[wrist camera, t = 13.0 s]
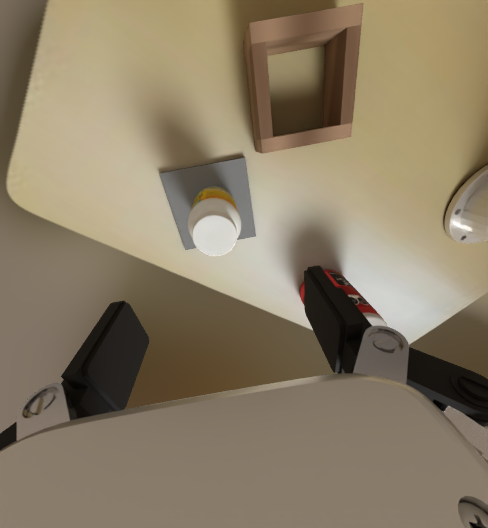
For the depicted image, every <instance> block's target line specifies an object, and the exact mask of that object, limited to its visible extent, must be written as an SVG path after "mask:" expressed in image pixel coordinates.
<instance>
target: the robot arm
mask: <svg viewBox="0 0 488 528" xmlns="http://www.w3.org/2000/svg"><path fill="white" fill-rule="evenodd" d="M445 230H446V233H447V234H448V236H449V237H450V238H452V239H453V240H455V241H458V242H460V243H465V244H472V243H477V242H481V241H484V240H485V241H488V165H486V166H485V167H483V168H482V169H480V170H479V171H477V172H476V173H475V174H474V175H473V176H471V177H470V178H469V179H468V180H467V181H466V182H465V183H464V184H463V185H462V187H461V188H460V189H459V190H458V192H457V193H456V194H455V196H454V197H453V199H452V201H451V203H450V204H449V207H448V209H447V212H446V216H445ZM304 293H305V313H306V316H307V318H308V320H309V322H310V324H311V326H312V328H313V331H314V332H315V335H316V337H317V339H318V341H319V343H320V345H321V347H322V350H323V352H324V354H325V356H326V358H327V360H328V362H329V364H330V366H331V369H332V370H333V372H337V373H338V374H333V375H322V376H316V377H309V378H303V379H296V380H290V381H284V382H278V383H272V384H266V385H260V386H255V387H249V388H243V389H237V390H232V391H226V392H220V393H214V394H208V395H204V396H197V397H192V398H186V399H181V400H175V401H169V402H164V403H158V404H153V405H147V406H142V407H137V408H131V409H125V410H124V408H125V407H126V405H127V402H128V400H129V397H130V394H131V391H132V388H133V386H134V383H135V380H136V377H137V374H138V372H139V369H140V366H141V363H142V361H143V358H144V355H145V352H146V349H147V347H148V344H149V337H148V335H147V333H146V332H145V330H144V328H143V327H142V325H141V323H140V321H139V320H138V318H137V316H136V315H135V313H134V311H133V309H132V308H131V306H130V305H129V304H128V303H126V302H125V301H119V302H113V303H111V304H110V305H109V307H108V308H107V309H106V311H105V313H104V314H103V315H102V317H101V318H100V320H99V322H98V323H97V324H96V326H95V327H94V329H93V330H92V331H91V333H90V335H89V336H88V338H87V339H86V340H85V342H84V343H83V345H82V346H81V348H80V349H79V351H78V352H77V354H76V355H75V357H74V358H73V360H72V361H71V362H70V364H69V365H68V367H67V368H66V370H65V372H64V373H63V374H62V376H61V377H62V378H63V379H64V380H63V382H62V383H61V384H60V383H52V384H49V385H46V386H44V387H42V388H41V389H39V390H38V391H36V392H35V393H34V394H32V395H31V396H30V397H29V398H28V399H27V400H26V401H25V403H24V404H23V405H22V406H21V408H20V410H19V412H18V414H17V422H15V423H14V424H13V425H11V426H10V427H9V428H7V429H6V430H5V431H3V432H2V433H1V434H0V528H488V464H487V463H486V461H485V460H484V459H483V458H482V456H483V457H484V458H486V459H487V460H488V379H486V378H485V377H483V376H481V375H479V374H477V373H475V372H473V371H470V370H467V369H465V368H462V367H460V366H457V365H454V364H452V363H449V362H447V361H444V360H441V359H439V358H436V357H434V356H431V355H428V354H425V353H423V352H420V351H418V350H415V349H413V348H410V347H409V344H408V342H407V340H406V338H405V337H404V336H403V335H402V334H401V333H399V332H398V331H396V330H394V329H392V328H389V327H386V326H372V325H371V323H370V322H369V321H368V320H367V318H366V317H365V316H364V315H363V313H362V312H361V311H360V310H359V308H358V307H357V306H356V305H355V303H354V302H353V301H352V300H351V298H350V297H349V296H348V295H347V293H346V292H345V291H344V290H343V289H342V288H340V287H339V288H336V286H335V285H334V284H333V282H332V281H331V280H330V279H329V277H328V276H327V275H326V273H325V272H324V271H323V269H322V268H321V267H320V266H313V267H308V269H307V270H306V271H305V272H304ZM471 444H472V445H474V446H475V447H476V448H477V449H479V450H480V451H482V452H483V455H482V456H481V455H480V454H479V453H478V452H477V450H476V449H475V448H474V447H473V446H472V445H471ZM458 503H459V504H458Z"/></svg>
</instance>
